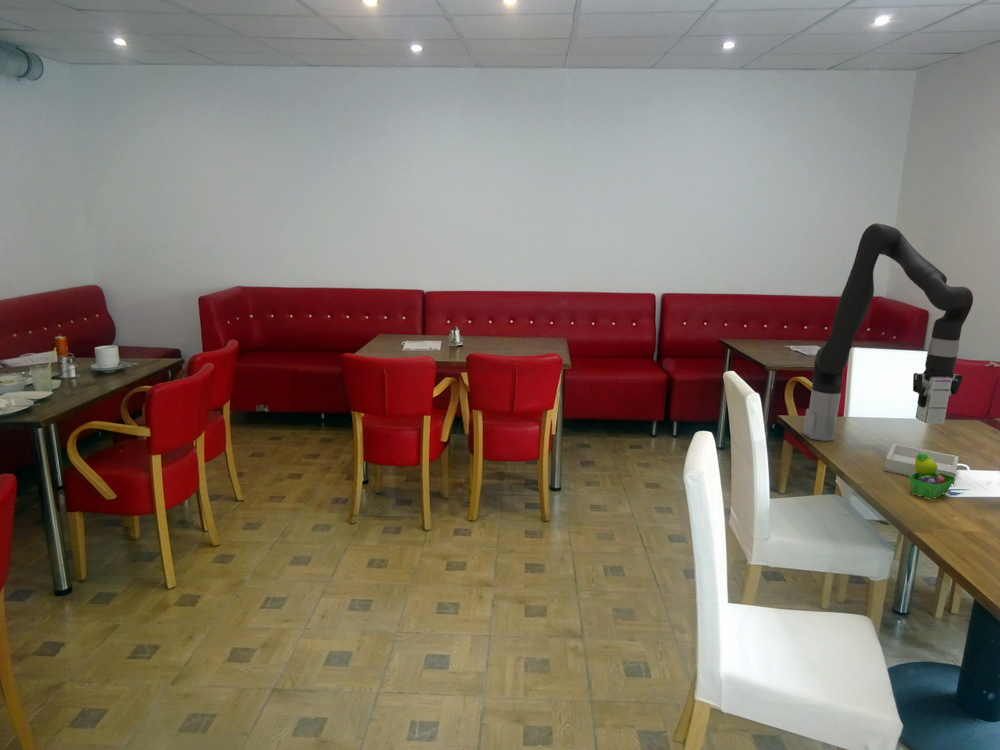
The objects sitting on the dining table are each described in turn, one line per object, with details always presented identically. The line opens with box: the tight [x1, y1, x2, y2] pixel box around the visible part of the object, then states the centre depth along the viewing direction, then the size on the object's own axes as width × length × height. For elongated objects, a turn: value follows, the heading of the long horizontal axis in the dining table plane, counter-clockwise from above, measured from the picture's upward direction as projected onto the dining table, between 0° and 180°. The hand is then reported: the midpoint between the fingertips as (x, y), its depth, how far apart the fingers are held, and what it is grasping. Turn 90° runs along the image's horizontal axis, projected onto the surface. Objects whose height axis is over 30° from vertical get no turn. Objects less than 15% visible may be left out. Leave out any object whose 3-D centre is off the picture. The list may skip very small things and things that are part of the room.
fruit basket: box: [908, 453, 956, 500], centre depth 185 cm, size 11×9×11 cm
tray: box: [883, 443, 959, 485], centre depth 203 cm, size 18×18×4 cm
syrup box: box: [915, 376, 952, 425], centre depth 198 cm, size 6×6×14 cm
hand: (932, 406), depth 199 cm, fingers closed on syrup box, 6 cm apart
